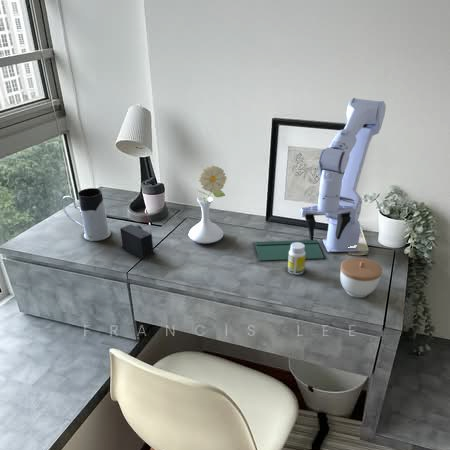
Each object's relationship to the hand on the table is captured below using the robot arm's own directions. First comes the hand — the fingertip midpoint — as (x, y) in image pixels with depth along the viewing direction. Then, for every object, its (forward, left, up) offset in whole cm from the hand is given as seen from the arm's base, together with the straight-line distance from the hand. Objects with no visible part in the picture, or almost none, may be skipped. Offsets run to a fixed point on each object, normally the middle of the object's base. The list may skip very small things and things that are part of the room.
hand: (324, 238), depth 139 cm
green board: (+8, -10, -9) cm, 16 cm away
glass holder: (+73, -26, -10) cm, 78 cm away
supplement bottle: (+8, +2, -10) cm, 13 cm away
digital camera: (+55, -14, -10) cm, 58 cm away
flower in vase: (+33, -20, -10) cm, 40 cm away
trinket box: (-7, +14, -10) cm, 18 cm away
